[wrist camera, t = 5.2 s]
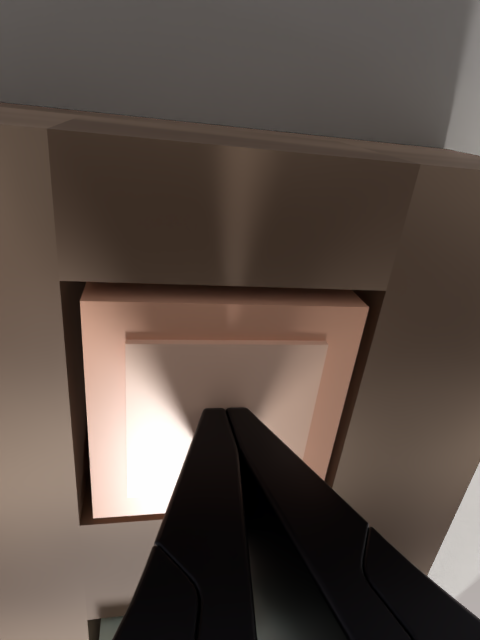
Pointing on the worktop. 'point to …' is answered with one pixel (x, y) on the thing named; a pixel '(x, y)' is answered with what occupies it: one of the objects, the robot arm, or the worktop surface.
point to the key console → (225, 270)
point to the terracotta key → (207, 376)
